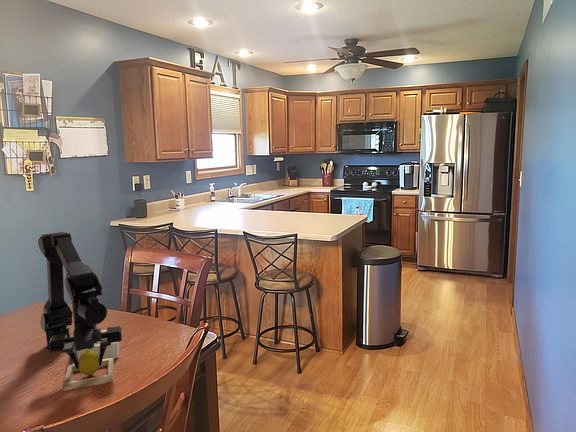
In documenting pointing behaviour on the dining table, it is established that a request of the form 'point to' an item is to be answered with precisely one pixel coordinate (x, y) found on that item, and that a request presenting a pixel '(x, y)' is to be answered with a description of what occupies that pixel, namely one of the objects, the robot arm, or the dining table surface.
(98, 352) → the bin
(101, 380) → the rectangular frame
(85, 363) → the lemon
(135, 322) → the dining table surface
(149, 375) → the dining table surface
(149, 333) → the dining table surface
